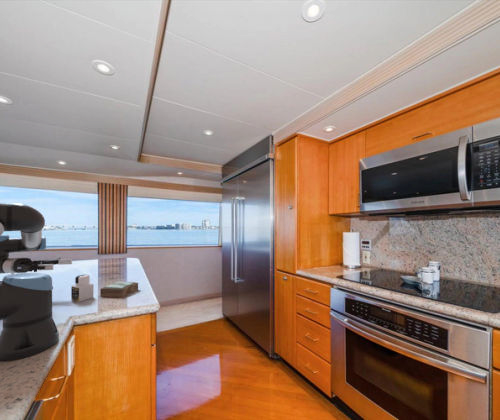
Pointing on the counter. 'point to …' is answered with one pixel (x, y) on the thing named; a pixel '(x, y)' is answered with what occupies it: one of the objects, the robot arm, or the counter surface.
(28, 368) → the counter surface
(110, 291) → the walnut stand
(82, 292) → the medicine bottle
